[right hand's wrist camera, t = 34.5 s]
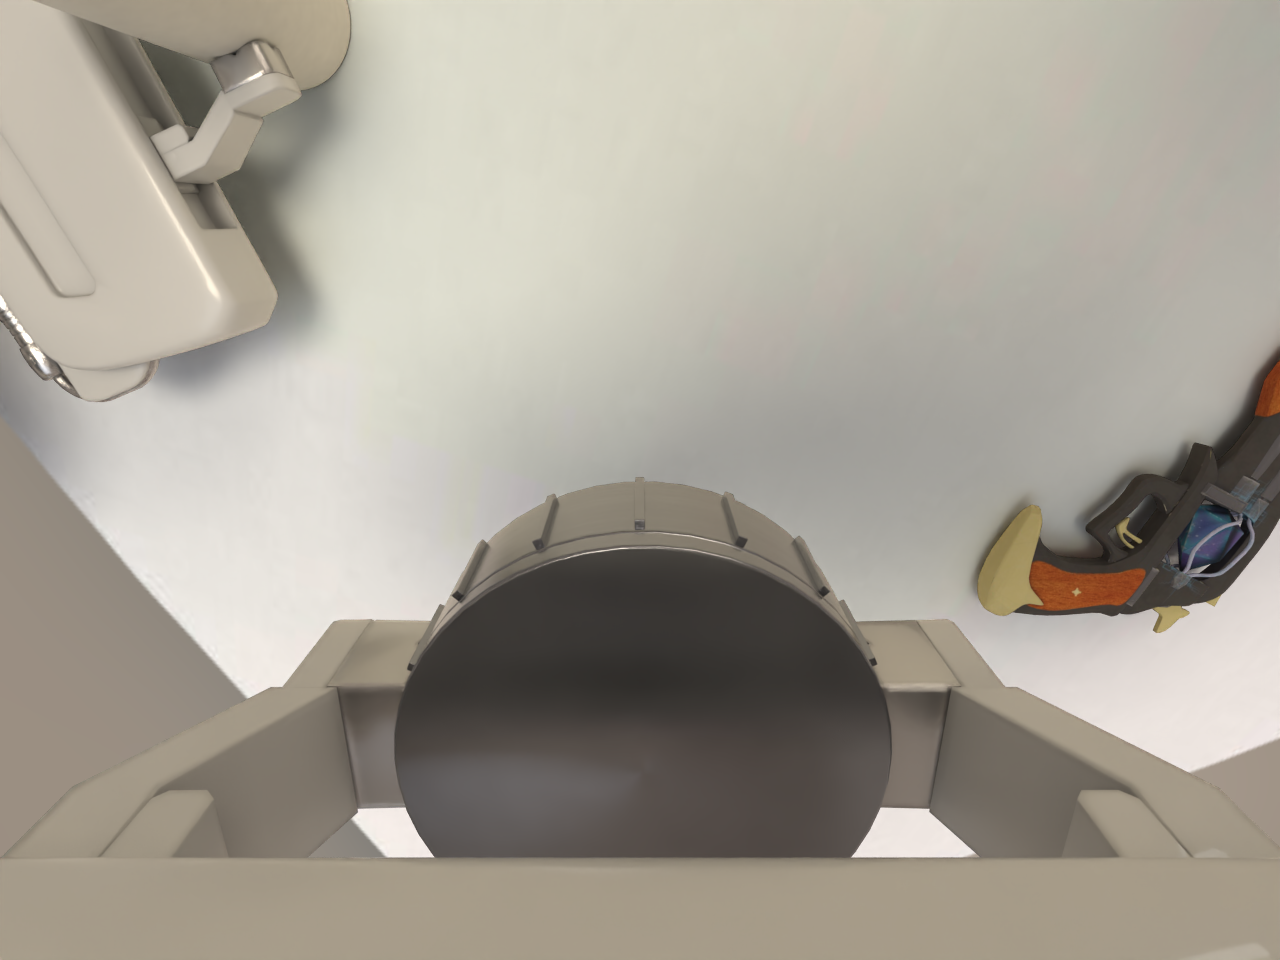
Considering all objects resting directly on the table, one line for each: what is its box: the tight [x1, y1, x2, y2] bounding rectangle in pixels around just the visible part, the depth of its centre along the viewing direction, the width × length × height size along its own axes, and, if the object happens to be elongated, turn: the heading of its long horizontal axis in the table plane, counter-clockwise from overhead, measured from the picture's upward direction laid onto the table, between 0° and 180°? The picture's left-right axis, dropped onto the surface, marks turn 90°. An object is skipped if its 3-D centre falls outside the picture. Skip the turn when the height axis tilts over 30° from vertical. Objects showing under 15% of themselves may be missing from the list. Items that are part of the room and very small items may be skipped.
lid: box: [394, 477, 892, 858], centre depth 9 cm, size 6×6×2 cm
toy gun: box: [977, 360, 1280, 633], centre depth 32 cm, size 3×19×10 cm
